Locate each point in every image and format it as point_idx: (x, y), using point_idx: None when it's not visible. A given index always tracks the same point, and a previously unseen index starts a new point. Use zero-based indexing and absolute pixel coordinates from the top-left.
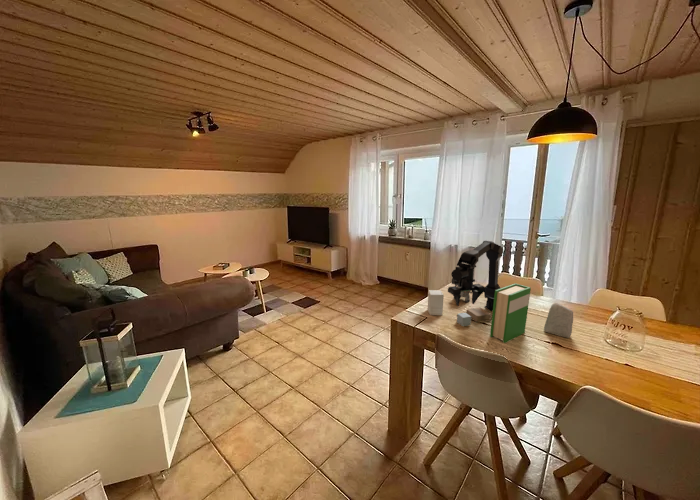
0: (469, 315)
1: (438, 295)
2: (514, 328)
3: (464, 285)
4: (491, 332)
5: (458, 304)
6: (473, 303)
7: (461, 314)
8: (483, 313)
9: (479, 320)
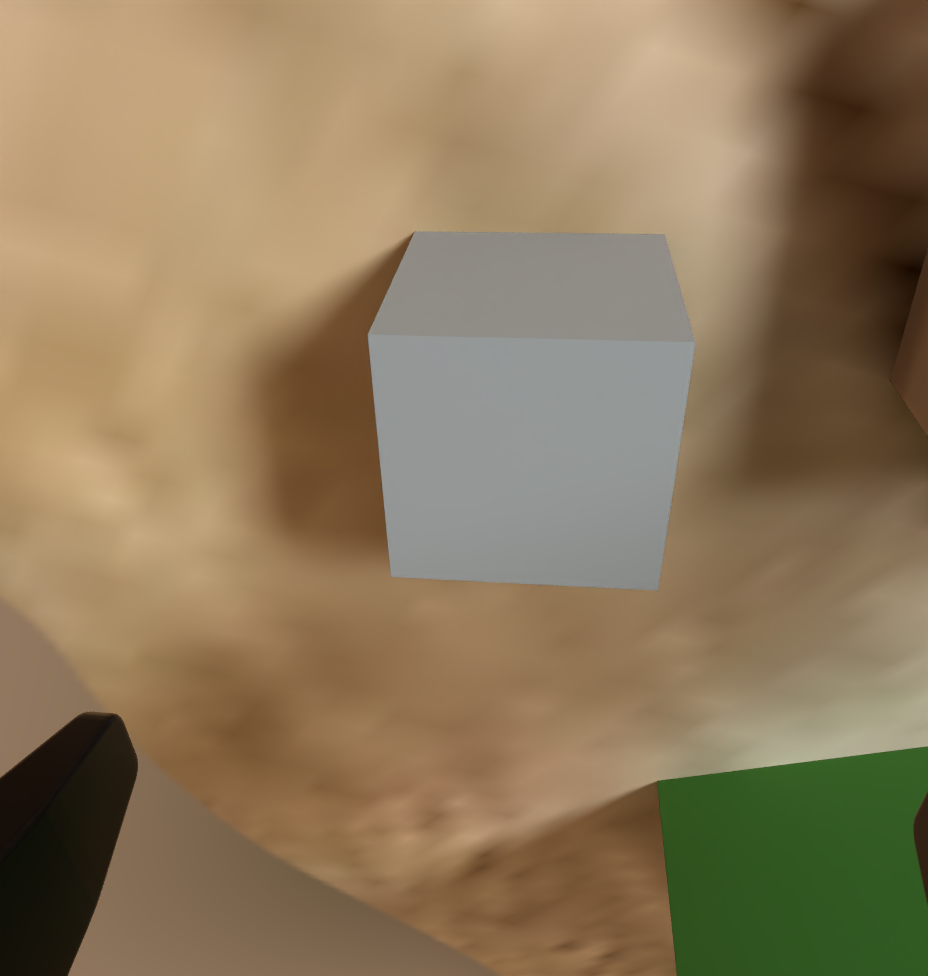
0: (656, 530)
1: None
2: None
3: None
4: (668, 861)
5: (88, 859)
6: (926, 867)
7: (465, 417)
8: None
9: None
